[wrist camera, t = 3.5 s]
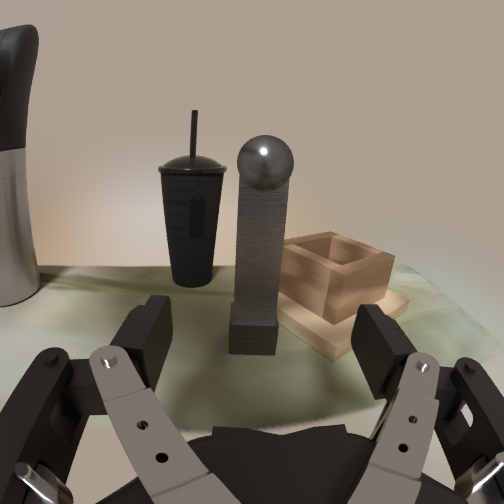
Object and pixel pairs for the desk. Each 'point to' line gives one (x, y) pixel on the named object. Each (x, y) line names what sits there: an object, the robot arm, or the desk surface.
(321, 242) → the wooden square box
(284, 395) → the desk surface
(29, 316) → the desk surface
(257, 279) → the ball topped joystick
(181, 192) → the drinking cup
